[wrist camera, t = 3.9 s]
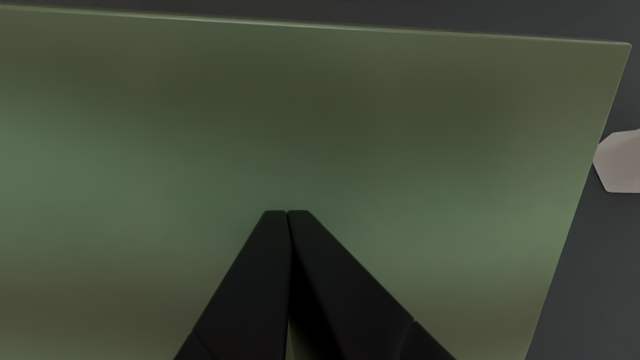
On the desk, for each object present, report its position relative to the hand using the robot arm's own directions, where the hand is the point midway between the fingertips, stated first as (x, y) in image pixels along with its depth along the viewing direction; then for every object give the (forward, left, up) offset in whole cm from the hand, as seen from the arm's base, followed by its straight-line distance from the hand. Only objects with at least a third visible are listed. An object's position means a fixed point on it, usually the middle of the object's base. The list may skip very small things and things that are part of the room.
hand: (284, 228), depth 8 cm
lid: (-1, 0, -2) cm, 3 cm away
